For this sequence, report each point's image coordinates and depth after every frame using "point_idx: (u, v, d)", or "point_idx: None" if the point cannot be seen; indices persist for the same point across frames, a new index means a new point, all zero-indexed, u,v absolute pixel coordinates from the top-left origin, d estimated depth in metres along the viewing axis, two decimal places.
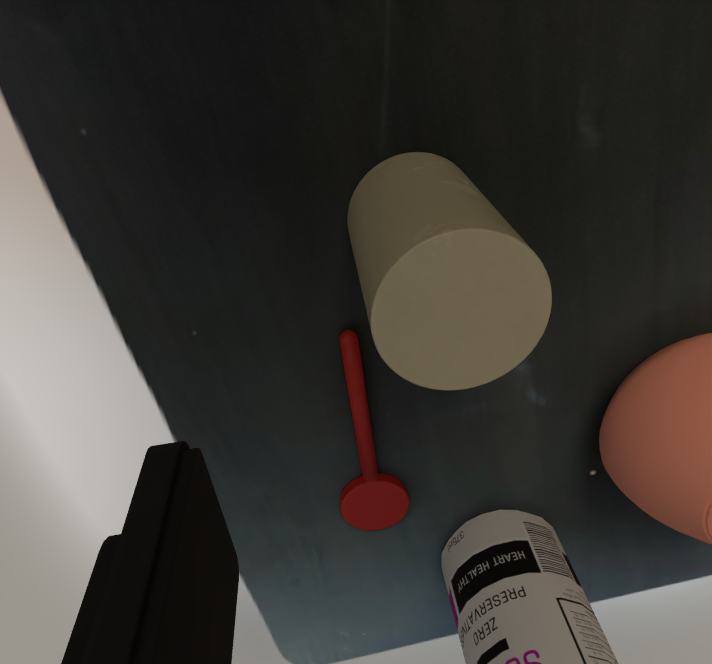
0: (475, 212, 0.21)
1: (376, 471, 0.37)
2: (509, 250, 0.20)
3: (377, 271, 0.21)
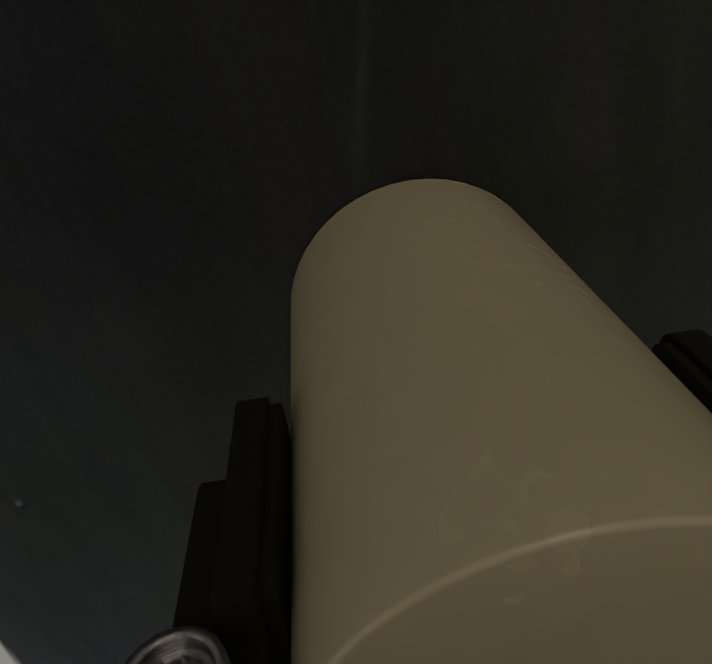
0: (631, 399, 0.06)
1: None
2: None
3: (314, 590, 0.06)
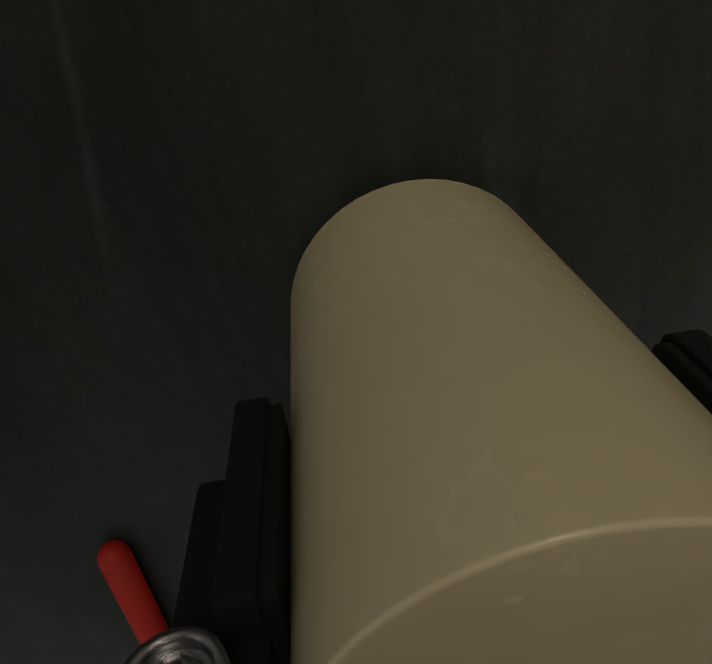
0: (631, 399, 0.06)
1: None
2: None
3: (314, 591, 0.06)
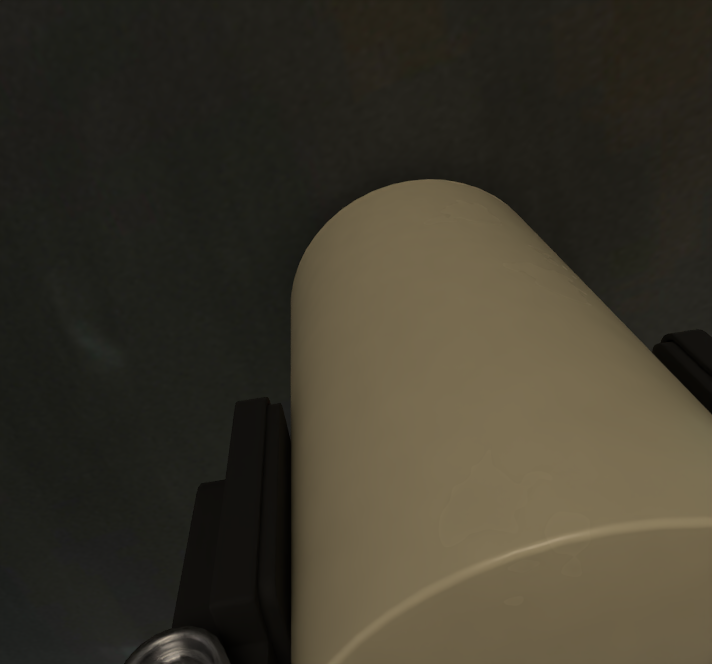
0: (631, 400, 0.06)
1: None
2: None
3: (314, 591, 0.06)
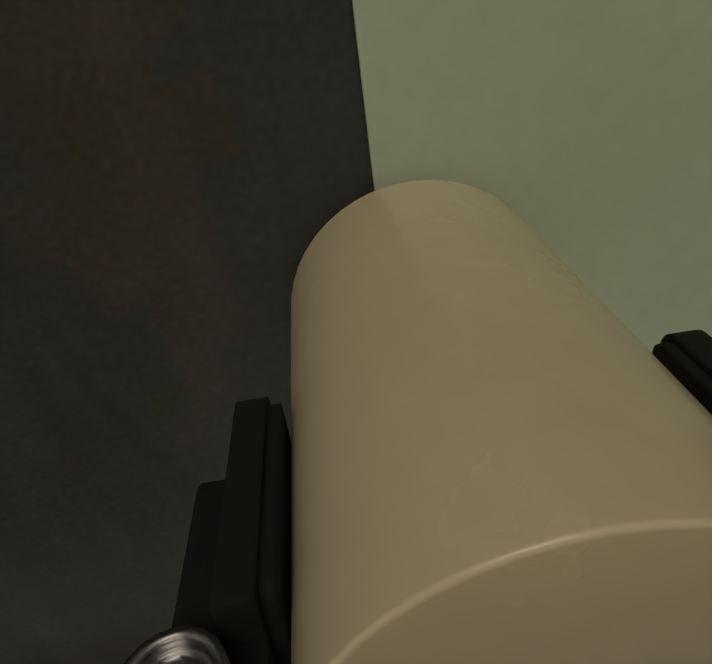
0: (631, 401, 0.06)
1: None
2: None
3: (315, 592, 0.06)
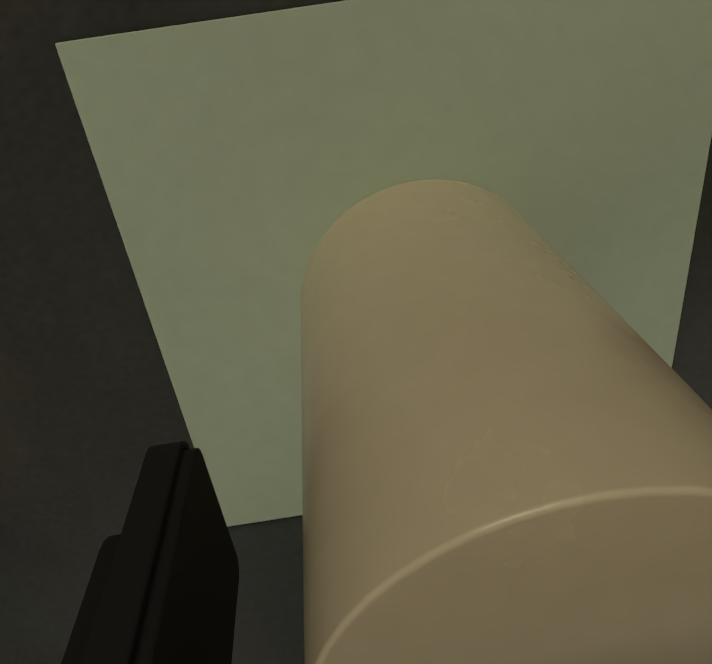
0: (624, 383, 0.07)
1: None
2: None
3: (327, 560, 0.07)
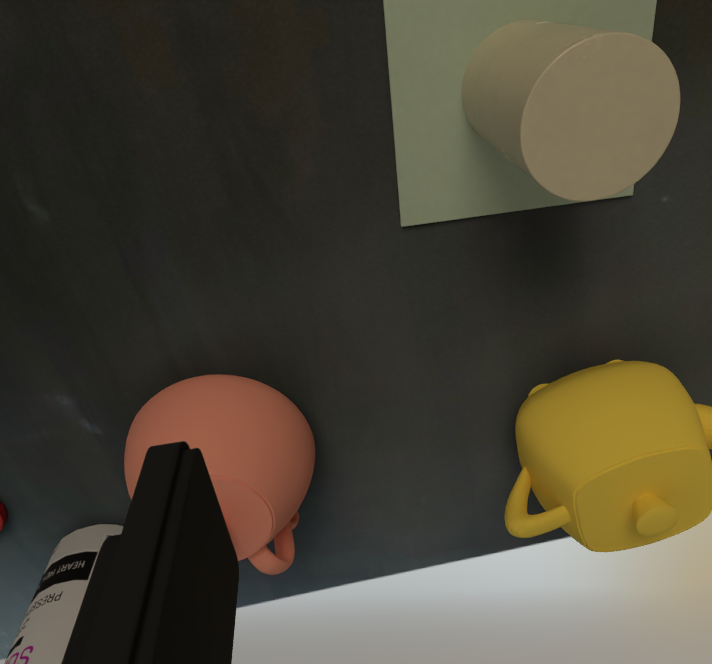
0: None
1: None
2: (649, 56, 0.23)
3: (526, 81, 0.24)
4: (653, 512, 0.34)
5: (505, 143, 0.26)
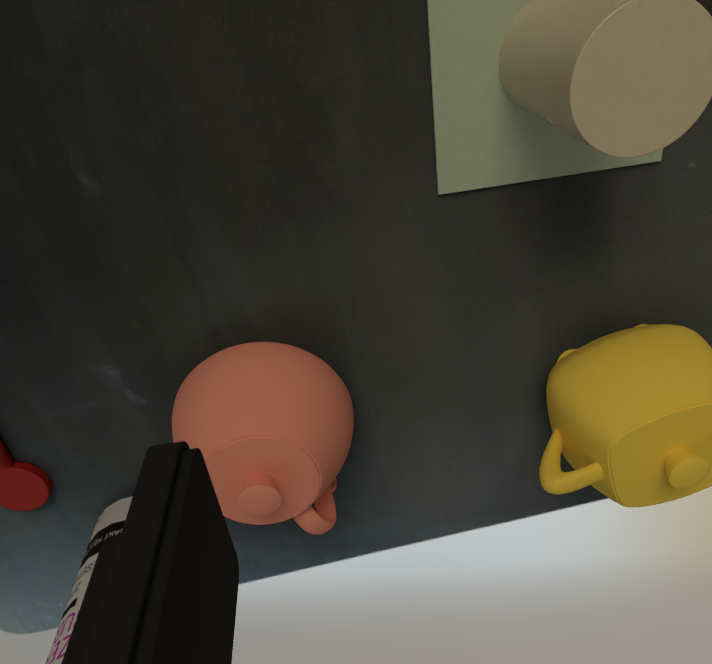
0: None
1: (6, 459, 0.43)
2: (693, 15, 0.24)
3: (575, 41, 0.25)
4: (685, 465, 0.36)
5: (550, 104, 0.27)
